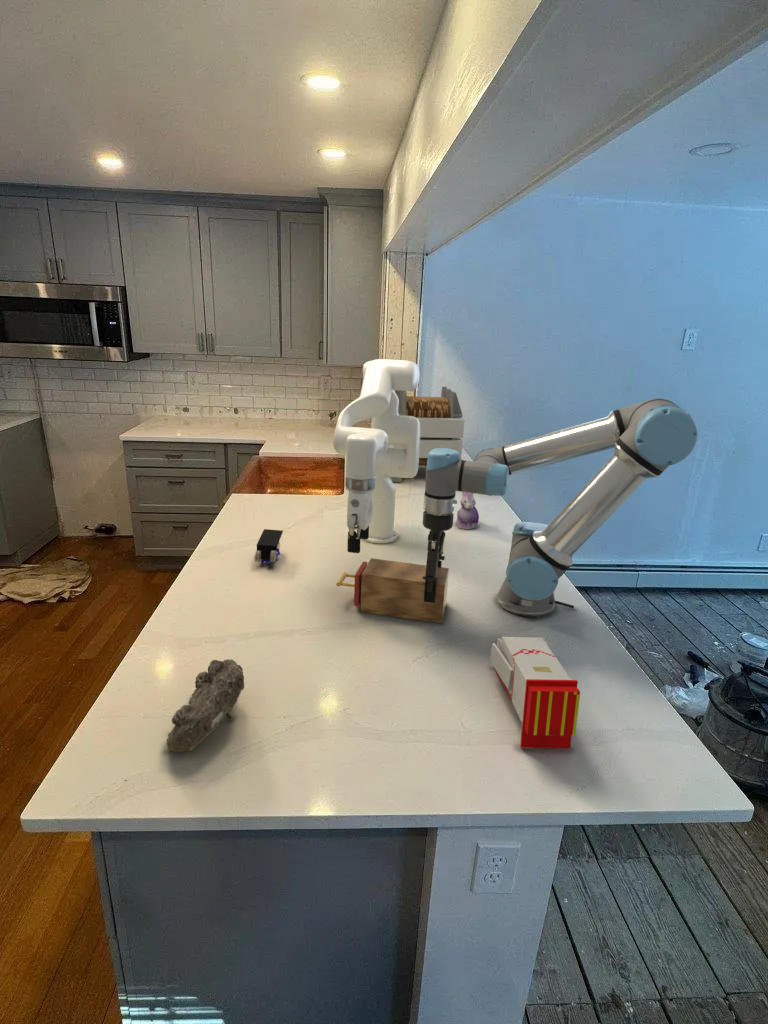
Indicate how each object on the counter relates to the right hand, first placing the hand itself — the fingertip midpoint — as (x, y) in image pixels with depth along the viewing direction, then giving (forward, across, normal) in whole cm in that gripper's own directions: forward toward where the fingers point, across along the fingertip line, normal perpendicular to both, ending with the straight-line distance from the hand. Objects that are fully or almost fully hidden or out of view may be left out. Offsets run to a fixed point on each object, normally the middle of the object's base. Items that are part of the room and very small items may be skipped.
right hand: (432, 592), depth 147 cm
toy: (+6, -31, -24) cm, 39 cm away
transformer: (+6, +132, +23) cm, 134 cm away
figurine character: (+6, +18, +53) cm, 56 cm away
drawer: (+5, 0, +12) cm, 13 cm away
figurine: (+6, +67, -5) cm, 68 cm away
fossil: (+6, -52, +35) cm, 63 cm away
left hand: (-10, +2, +20) cm, 23 cm away
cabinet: (+6, 0, +7) cm, 9 cm away
